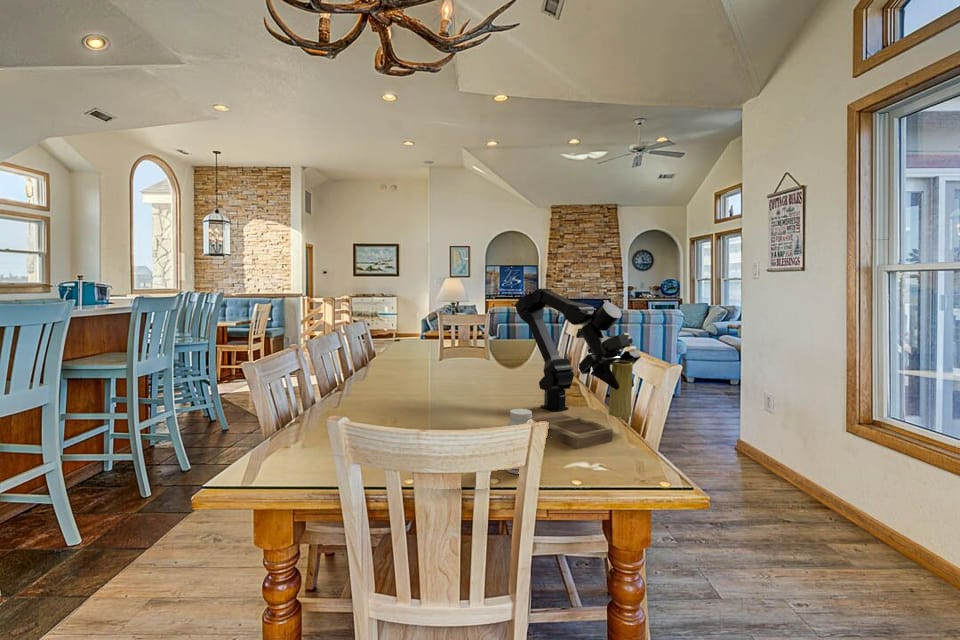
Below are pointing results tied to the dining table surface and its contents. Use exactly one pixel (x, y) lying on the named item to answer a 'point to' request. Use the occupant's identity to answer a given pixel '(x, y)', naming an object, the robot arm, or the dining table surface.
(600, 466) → the dining table surface
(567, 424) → the wooden tray
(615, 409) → the vase
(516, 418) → the supplement bottle
